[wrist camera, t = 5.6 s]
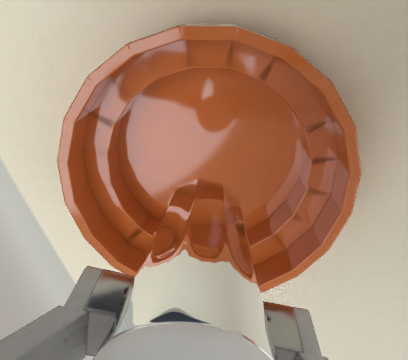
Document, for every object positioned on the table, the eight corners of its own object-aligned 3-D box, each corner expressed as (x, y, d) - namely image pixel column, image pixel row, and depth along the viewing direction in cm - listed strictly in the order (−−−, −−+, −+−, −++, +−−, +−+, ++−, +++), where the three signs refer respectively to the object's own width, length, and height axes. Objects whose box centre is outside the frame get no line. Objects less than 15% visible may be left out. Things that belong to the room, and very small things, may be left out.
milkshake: (166, 268, 17) (98, 576, 8) (141, 168, 14) (1, 446, 5) (260, 261, 16) (306, 582, 7) (252, 157, 14) (304, 441, 5)
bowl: (179, -45, 18) (165, -62, 14) (390, 137, 21) (428, 165, 17) (48, 175, 24) (12, 208, 20) (228, 288, 28) (229, 335, 24)
